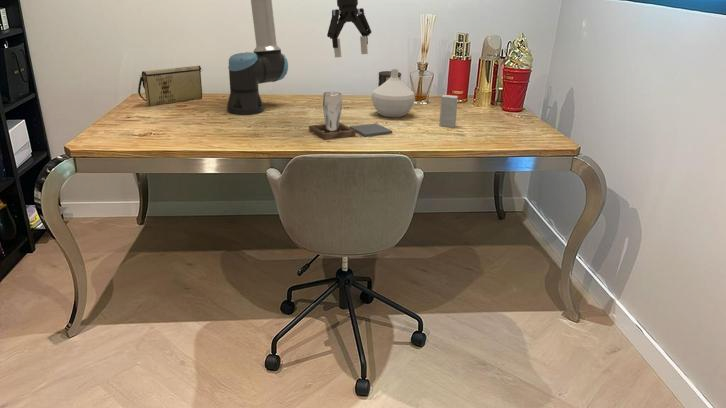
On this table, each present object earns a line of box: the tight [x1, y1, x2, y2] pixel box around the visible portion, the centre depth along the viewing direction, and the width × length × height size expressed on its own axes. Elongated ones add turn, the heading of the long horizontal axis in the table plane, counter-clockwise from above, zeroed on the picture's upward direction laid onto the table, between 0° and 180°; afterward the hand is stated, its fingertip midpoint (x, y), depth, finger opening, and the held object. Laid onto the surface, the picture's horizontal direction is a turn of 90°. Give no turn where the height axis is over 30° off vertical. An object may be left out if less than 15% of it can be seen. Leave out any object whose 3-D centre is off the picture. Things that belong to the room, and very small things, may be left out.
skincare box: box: [439, 94, 459, 128], centre depth 218 cm, size 6×4×12 cm
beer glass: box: [322, 91, 343, 133], centre depth 201 cm, size 7×7×15 cm
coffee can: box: [377, 70, 402, 88], centre depth 251 cm, size 10×10×14 cm
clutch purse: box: [137, 65, 203, 107], centre depth 241 cm, size 30×7×15 cm, turn 137°
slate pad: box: [348, 123, 393, 138], centre depth 209 cm, size 12×12×1 cm
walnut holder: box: [308, 121, 357, 141], centre depth 204 cm, size 13×13×2 cm
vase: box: [371, 68, 416, 118], centre depth 230 cm, size 18×18×19 cm
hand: (351, 55), depth 203 cm, fingers open, 13 cm apart
